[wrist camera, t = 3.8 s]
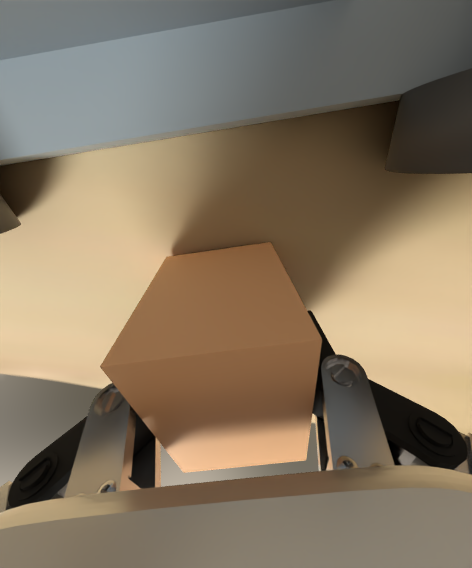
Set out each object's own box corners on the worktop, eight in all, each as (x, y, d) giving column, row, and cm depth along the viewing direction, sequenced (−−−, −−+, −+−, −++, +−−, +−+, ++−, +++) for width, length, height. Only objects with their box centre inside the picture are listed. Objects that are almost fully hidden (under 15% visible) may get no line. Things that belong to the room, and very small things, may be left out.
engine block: (270, 242, 9) (322, 339, 4) (275, 343, 13) (305, 460, 8) (166, 256, 10) (100, 367, 5) (200, 352, 13) (183, 472, 8)
